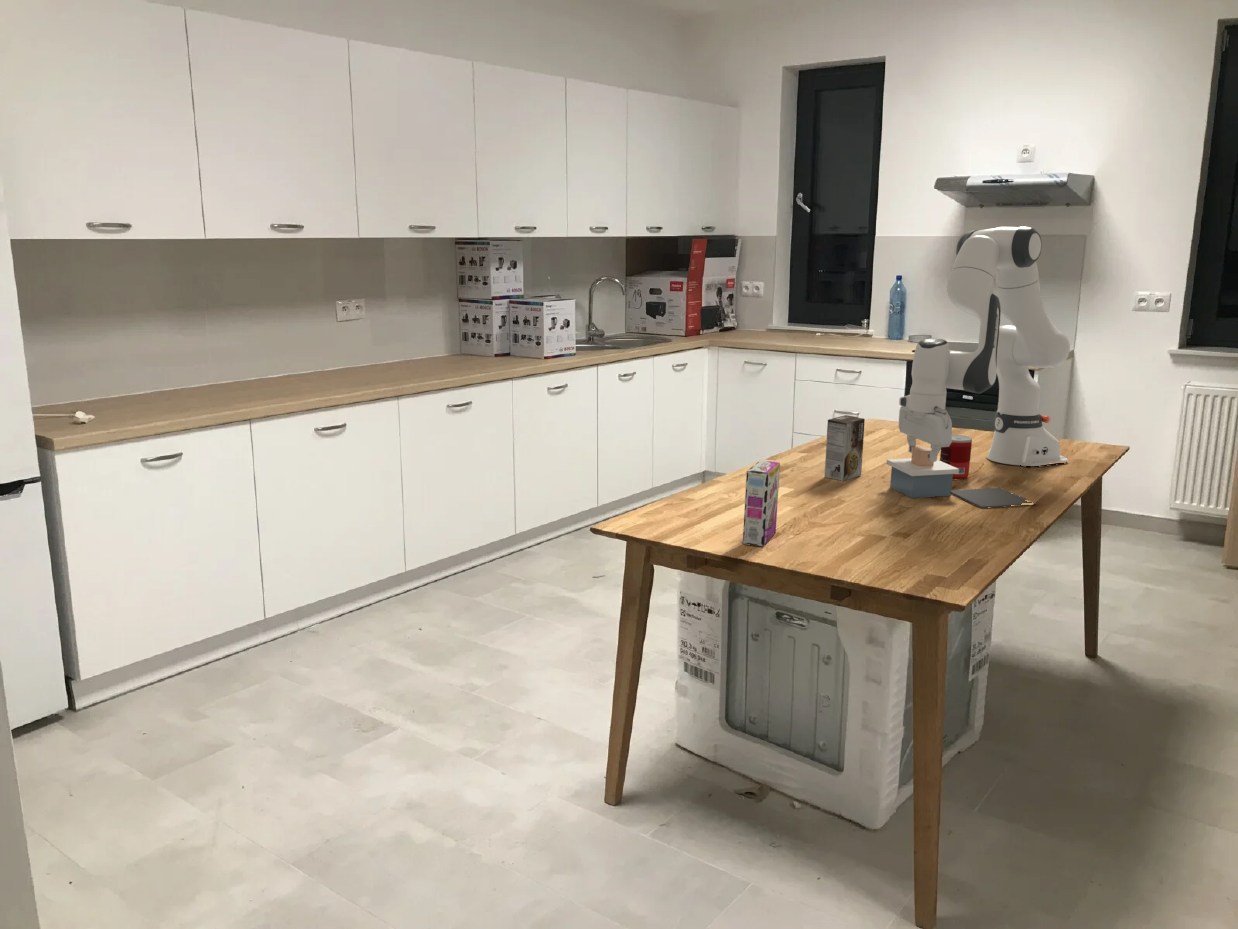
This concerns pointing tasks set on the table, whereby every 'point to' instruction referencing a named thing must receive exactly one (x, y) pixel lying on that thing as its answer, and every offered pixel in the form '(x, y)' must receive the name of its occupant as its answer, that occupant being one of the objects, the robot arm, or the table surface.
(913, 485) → the open box
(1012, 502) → the mat
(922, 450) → the lid
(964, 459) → the canned food
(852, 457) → the coffee box
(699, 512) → the table surface
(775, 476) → the candy bar box
